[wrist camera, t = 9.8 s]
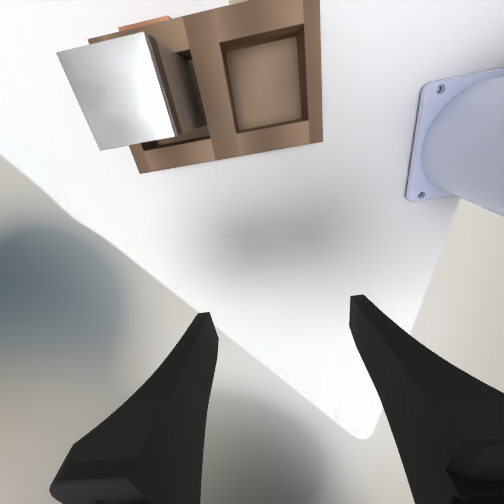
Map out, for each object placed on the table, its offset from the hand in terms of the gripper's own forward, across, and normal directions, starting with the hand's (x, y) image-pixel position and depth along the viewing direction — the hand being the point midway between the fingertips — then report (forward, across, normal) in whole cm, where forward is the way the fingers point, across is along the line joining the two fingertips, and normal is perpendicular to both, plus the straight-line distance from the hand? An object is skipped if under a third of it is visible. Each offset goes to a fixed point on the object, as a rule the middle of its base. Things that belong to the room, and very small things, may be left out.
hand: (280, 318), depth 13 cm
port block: (+10, +2, -10) cm, 15 cm away
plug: (+10, +5, -11) cm, 16 cm away
